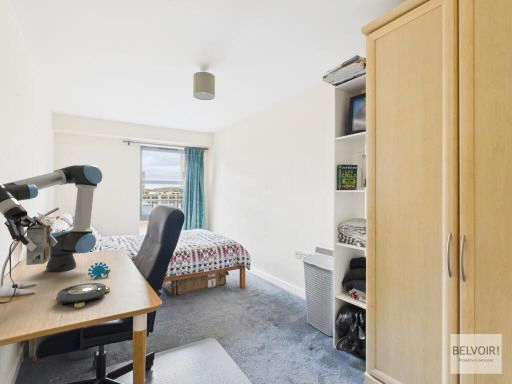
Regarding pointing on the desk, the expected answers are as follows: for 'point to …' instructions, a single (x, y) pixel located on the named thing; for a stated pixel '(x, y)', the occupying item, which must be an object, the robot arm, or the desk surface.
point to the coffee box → (39, 244)
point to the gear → (99, 270)
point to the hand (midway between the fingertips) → (45, 246)
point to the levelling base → (82, 294)
